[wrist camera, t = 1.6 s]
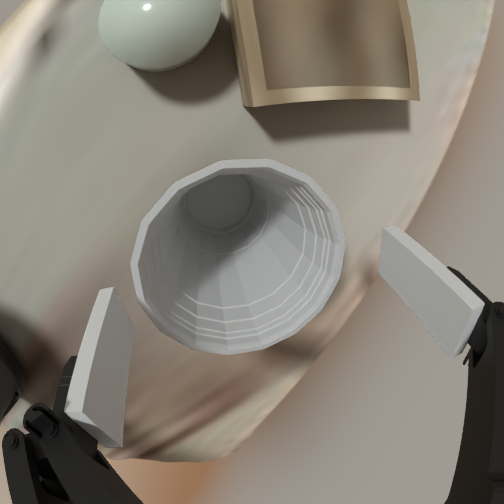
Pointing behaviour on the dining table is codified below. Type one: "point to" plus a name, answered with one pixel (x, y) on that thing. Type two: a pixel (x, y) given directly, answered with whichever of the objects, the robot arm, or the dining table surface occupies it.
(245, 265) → the plastic cup
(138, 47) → the pale green ball
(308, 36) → the maple open box
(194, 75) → the dining table surface
